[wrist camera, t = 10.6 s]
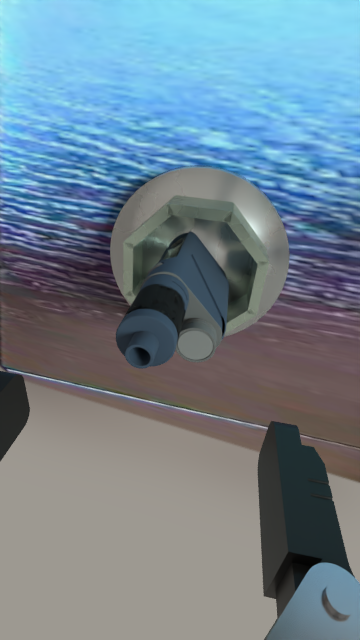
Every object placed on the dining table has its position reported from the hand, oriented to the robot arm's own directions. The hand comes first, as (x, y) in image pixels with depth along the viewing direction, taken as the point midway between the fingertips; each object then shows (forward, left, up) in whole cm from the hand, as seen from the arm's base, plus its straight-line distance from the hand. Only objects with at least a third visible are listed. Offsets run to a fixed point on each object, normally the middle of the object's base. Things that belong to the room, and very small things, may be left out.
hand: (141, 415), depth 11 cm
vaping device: (0, 0, -14) cm, 14 cm away
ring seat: (0, 0, -15) cm, 15 cm away
